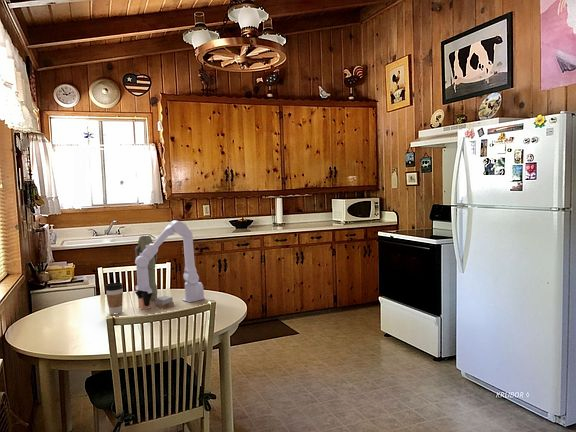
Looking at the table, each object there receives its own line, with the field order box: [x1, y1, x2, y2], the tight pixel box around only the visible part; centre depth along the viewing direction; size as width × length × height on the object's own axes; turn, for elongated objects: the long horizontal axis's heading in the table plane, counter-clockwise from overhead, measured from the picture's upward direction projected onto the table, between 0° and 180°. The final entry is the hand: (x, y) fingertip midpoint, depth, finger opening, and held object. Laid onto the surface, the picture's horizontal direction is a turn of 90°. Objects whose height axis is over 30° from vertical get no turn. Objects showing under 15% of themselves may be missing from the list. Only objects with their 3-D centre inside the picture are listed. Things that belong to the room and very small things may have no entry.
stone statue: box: [134, 235, 158, 301], centre depth 254 cm, size 9×12×35 cm
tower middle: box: [154, 295, 174, 305], centre depth 238 cm, size 6×6×2 cm
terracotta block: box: [137, 297, 152, 310], centre depth 237 cm, size 4×4×5 cm
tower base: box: [154, 301, 175, 310], centre depth 239 cm, size 7×7×2 cm
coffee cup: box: [104, 282, 124, 315], centre depth 230 cm, size 8×8×15 cm
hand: (144, 305), depth 237 cm, fingers closed on terracotta block, 4 cm apart
